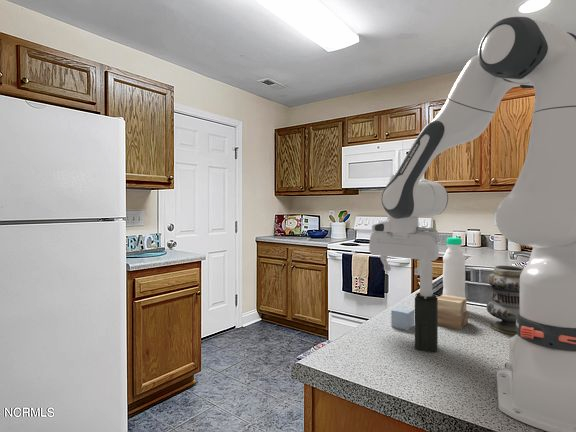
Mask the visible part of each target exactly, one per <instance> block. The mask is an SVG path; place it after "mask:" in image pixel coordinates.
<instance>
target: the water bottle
mask: <svg viewBox="0 0 576 432" xmlns="http://www.w3.org/2000/svg"><path fill="white" fill-rule="evenodd" d="M462 243H463V239H462V238H461V237H452V236H451V237H447V238H446V246H447V249H446V250H445V253H444V255H443V257H442V262H443V263H442V264H443V266H442V285H443V286H442V287H443V289H442V295H449V296H456V297H462V298H466V290H465V289H466V288H465V287H466V257H465V255H464V253H463V251H462V249H461V246H462V245H463V244H462Z"/></svg>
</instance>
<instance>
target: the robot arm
mask: <svg viewBox="0 0 576 432" xmlns="http://www.w3.org/2000/svg"><path fill="white" fill-rule="evenodd" d="M517 86H520V88H522V89H524V90H525V89H526V90H527V89H534V94H535V95H534V105H533V109H532V110H533V111H532V118H531V123H530V124H531V126H530V132H529V140H528V145H527V147H528V148H527V151H526V156H525V159H524V162H523V165H522V168H521V170H520V173H519V174H518V177H517V179H516V182H515V184H514V186H513V188H512V189H511V191H510V192H509V194H508V195H507V196H505V197H504V199H502V200H501V202H500V203H499V204H498V206H497V209H496V212H495V223H496V226H497V229H498V231H499V232H500V233H501V235H502V236H503V237H504V238H505V239H506V240H508V241H509V242H511V243H514V244H517V245H520V246H524V247H528V248H532V250H531V252H530V256H529V258H528V262H527V263H526V265H525V266H524V269H523V270H522V272H521V275H520V312H519V313H517V320H516V333H517V334H516V335H513V336H511V337H510V338H509V339H508V342H509V343H508V361H506V362H505V363H504V368H505V369H506V370H498V371H496V389H497V390H496V391H497V404H498V410H499V411H500V412H502V413H504V414H505V415H507V416H509V417H511V418H512V419H514V420H517V421H519V422H522V423H523V424H526V425H529V426H530V427H531V426H532V427H533V428H537V429H540V430H543V431H546V432H576V35H575V34H574V33H571V32H568V31H565V30H563V29H562V28H559V27H557V26H556V25H555V24H553V23H549V22H545V21H541V20H537V19H532V18H530V17H529V16H528V17H527V16H511V17H506V18H503V19H501V20H499V21H497V22H496V23H494V24H493V25H492V26H491V27H489V29H488V30H487V31H486V32H485V34H484V35H483V37H482V39H481V41H480V44H479V46H478V50H477V55H474V56H472V57H471V58H470V59H469V60H468V61H467V63H466V64H465V65H464V67H463V69H462V70H461V72H460V74H459V75H458V76H457V79H456V80H455V82H454V84H453V86H452V88H451V89H450V92H449V94H448V96H447V99H446V100H445V102H444V105H443V106H442V108H441V109H440V110H439V112H438V114H436V116H435V117H434V118H433V119H432V120H431V121H430V122H429V123H428V124H426V125H424V127H423V129H422V130H420V132H419V134H418V136H417V137H416V139H415V140H414V142H413V143H412V144H411V147H410V149H409V151H408V152H407V154H406V156H405V158H404V159H403V161H402V163H401V165H400V166H399V168H398V169H397V171H396V172H395V173H393V174H392V175H390V178H389V180H388V181H389V182H388V183H387V184H386V186H385V187H384V189H383V191H382V194H381V204H382V207H383V209H384V210H385V212H386V213H387V214H386V215H387V216H386V217H387V218H386V220H384V221H381V222H378V223H373V224H372V226H371V230H372V233H371V235H370V238H369V245H368V247H369V248H368V251H369V252H370V254H371V255H372V256H380V261H381V263H382V265H383V270H384V271H386V272H390V271H391V270H392V268H391V267H392V264H389V263H388V261H387V259H388V257H392V258H400V259H410V260H417V261H418V264H419V265H418V267H415V268H414V269H413V270H414V275H415V276H420V262H421V260H422V259H423V256H424V253H425V251H424V250H425V249H427V250H428V255H429V259H430V260H431V262H433V261H437V259H439V255H440V253H439V252H440V250H439V241H440V234H439V231H438V230H437V229H434V227H422V226H419V218H420V217H422V218H423V217H434V216H438V215H441V214H442V213H443V212H444V211H445V210H446V209H447V206H448V204H449V203H448V202H449V196H448V195H449V194H448V191H447V189H446V188H445V186H444V185H443V184H442V183H440V182H436V181H432V180H429V179H426V178H424V177H423V176H424V175H425V173H426V172H427V169H429V166H430V164H431V163H432V162H433V160H434V159H435V158H436V157H437V156H438V155H439V154H441V153H443V152H445V151H447V150H448V149H451V148H453V147H456V146H459V145H462V144H466V143H467V144H468V143H469V142H472V141H474V140H476V139H477V138H479V137H481V135H482V134H483V132H484V131H485V130H486V129H487V127H488V126H489V125H490V123H491V121H492V120H493V117H494V116H495V114H496V112H497V110H498V108H499V105H500V103H501V101H502V99H503V97H504V96H505V95H506V93H508V91H509V90H511V89H512V88H514V87H517Z"/></svg>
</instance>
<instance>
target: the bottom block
mask: <svg viewBox="0 0 576 432" xmlns="http://www.w3.org/2000/svg"><path fill="white" fill-rule="evenodd" d="M468 316H469V311H468V309H466V312H465V313H464V314H463V315H461V316H454V315H449V314H443V313H438V326H441V327H442V326H443V327H447V328H452V329H456V330H457V329H458V330H462V328H464V327H465V326H466V325H467V324H468V322H469V321H468V320H469V317H468Z"/></svg>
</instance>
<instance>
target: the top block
mask: <svg viewBox="0 0 576 432" xmlns="http://www.w3.org/2000/svg"><path fill="white" fill-rule="evenodd" d="M437 298H438V313H443V314H449V315H454V316H461V315H463V314H464V313H465V312H466V310H467V297H465V298H462V297H456V296H449V295H443V294H441V295H440V296H437Z"/></svg>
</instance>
